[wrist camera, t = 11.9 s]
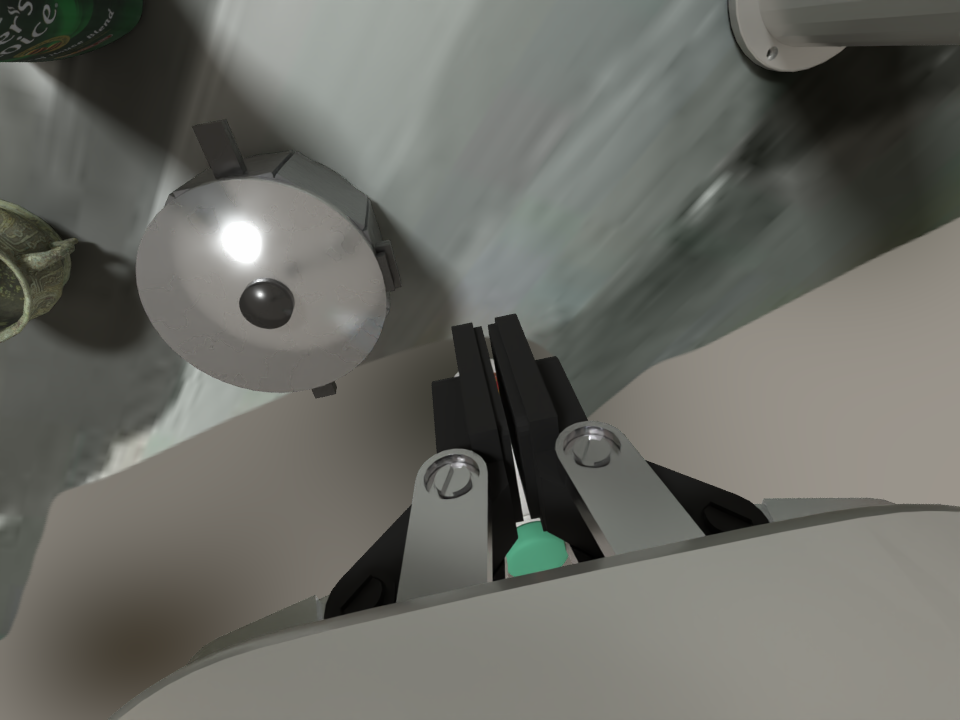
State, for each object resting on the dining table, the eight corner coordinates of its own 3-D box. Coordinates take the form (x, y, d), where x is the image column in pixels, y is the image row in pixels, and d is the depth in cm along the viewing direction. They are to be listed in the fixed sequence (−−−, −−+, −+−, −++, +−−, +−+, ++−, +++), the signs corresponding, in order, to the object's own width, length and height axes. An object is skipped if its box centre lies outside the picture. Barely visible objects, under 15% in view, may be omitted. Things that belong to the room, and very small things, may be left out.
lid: (357, 151, 26) (355, 158, 25) (415, 358, 35) (416, 373, 33) (88, 204, 26) (68, 214, 24) (212, 403, 34) (203, 421, 32)
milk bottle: (535, 373, 48) (615, 539, 32) (494, 425, 51) (547, 602, 35) (473, 344, 45) (526, 512, 29) (433, 401, 48) (460, 584, 31)
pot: (357, 88, 32) (350, 98, 25) (420, 330, 43) (427, 384, 36) (133, 131, 31) (61, 153, 24) (256, 366, 42) (231, 429, 35)
